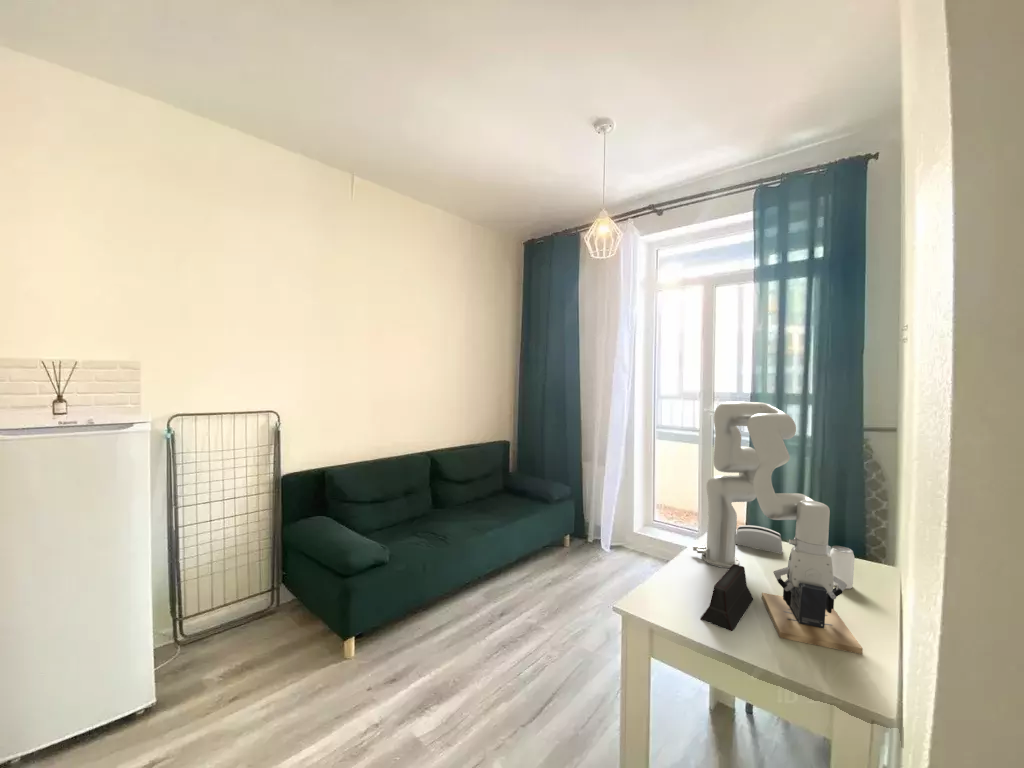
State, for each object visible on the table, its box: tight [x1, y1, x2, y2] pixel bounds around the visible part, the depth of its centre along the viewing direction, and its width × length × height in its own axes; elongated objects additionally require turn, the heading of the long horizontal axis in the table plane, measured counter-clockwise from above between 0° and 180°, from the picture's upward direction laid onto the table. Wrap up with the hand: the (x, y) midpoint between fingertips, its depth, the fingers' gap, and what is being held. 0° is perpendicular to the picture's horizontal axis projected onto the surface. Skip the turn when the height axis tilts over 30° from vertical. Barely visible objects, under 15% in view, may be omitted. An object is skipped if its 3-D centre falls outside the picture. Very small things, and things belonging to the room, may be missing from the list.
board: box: [761, 592, 864, 655], centre depth 122 cm, size 18×22×2 cm
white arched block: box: [736, 524, 783, 555], centre depth 175 cm, size 17×5×10 cm, turn 60°
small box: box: [789, 583, 827, 628], centre depth 123 cm, size 11×6×10 cm, turn 161°
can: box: [830, 545, 855, 590], centre depth 146 cm, size 6×6×12 cm
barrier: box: [700, 564, 755, 632], centre depth 128 cm, size 24×9×10 cm, turn 139°
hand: (807, 606), depth 122 cm, fingers open, 9 cm apart
